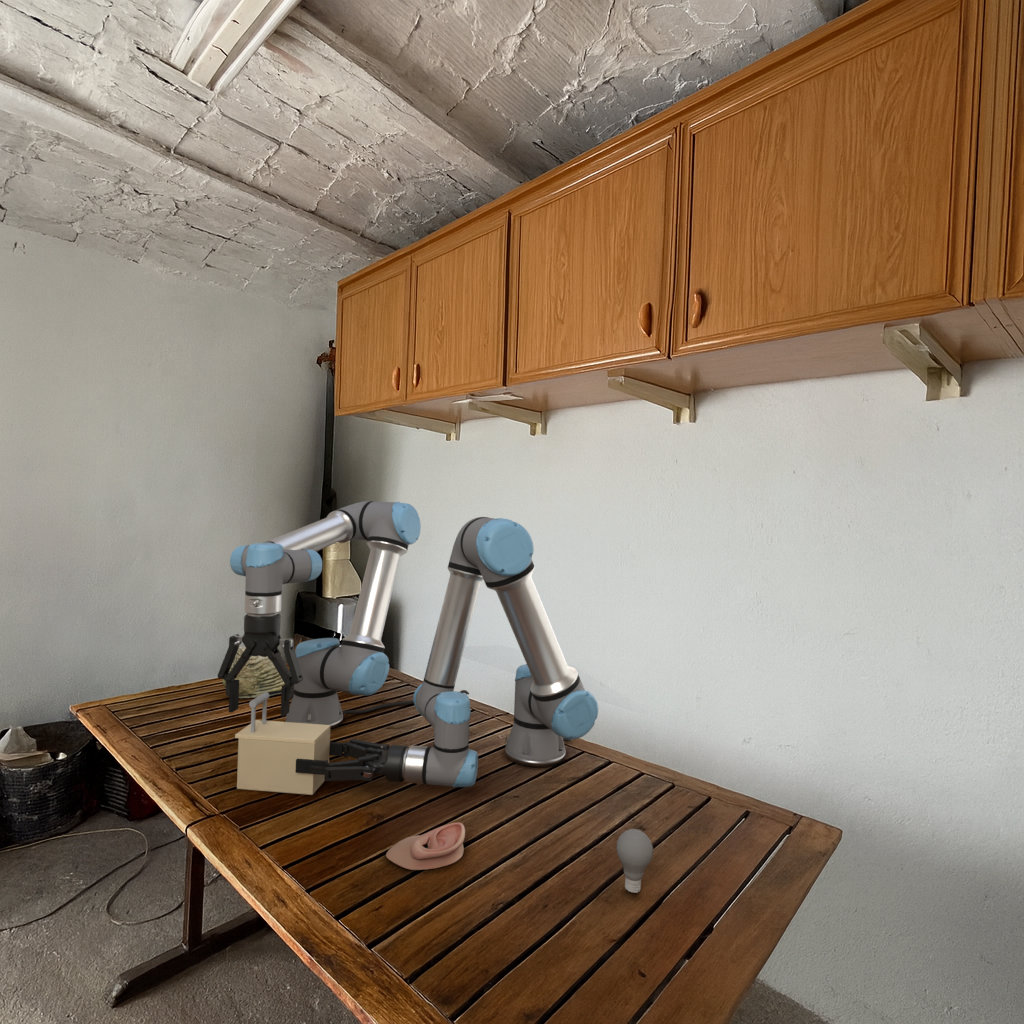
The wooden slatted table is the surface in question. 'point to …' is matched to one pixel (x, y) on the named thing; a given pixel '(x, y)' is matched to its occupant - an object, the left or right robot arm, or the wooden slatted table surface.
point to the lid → (279, 727)
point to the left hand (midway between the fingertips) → (259, 712)
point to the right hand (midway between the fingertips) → (305, 756)
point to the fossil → (257, 676)
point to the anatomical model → (430, 848)
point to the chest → (279, 765)
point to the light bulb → (634, 857)
